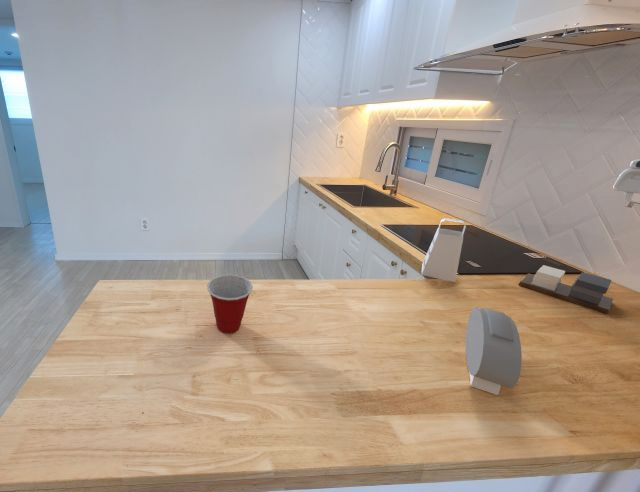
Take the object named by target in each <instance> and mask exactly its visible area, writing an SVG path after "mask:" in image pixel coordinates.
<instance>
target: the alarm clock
mask: <svg viewBox="0 0 640 492" xmlns="http://www.w3.org/2000/svg"><path fill="white" fill-rule="evenodd" d="M464 344H465V345H464V346H465V361H466V367H467V370H468V373H469V382H470V387H472V388H474V389H475V388H476V389H478V390H481V391H483V392H487V393H490V394H493V395H495V396H499V394H500V391H501V388H502V386H503V387H506V388H508V389H511V388H513V387H516V385H517V383H518V381H519V379H520V376H521V371H522V355H523V354H522V344H521V339H520V334H519V330H518V327H517V324H516V323H515V320H514V319H513V318H512V317H511V316H510V315H508V314H506V313H504V312H503V311H499V310H494V309H490V308H487V307H486V308H481V307H477V306H475V307H473V308H472V310H471V311H470V313H469V315H468V319H467V324H466V331H465V342H464Z"/></svg>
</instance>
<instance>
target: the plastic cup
mask: <svg viewBox="0 0 640 492" xmlns="http://www.w3.org/2000/svg"><path fill="white" fill-rule="evenodd" d="M206 288H207V292H208V293H209V294H210V295H209V296H210V298H211V302H212V308H213V313H214V318H215V323H216V328H217V330H218V331H219V332H221V333H224V334H234V333H236V332H237V331H239V330H240V327H241V324H242V321H243V318H244V315H245V311H246V306H247V303H248V299H249V296H250V295H251V293H252V291H253V289H254V287H253V284H252V281H251V280H249V279H248V278H247V277H244V276H241V275H236V274H222V275H218V276H215V277H214V278H212V279H210V280H209V281H208V283H207V284H206Z"/></svg>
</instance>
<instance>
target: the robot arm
mask: <svg viewBox="0 0 640 492" xmlns="http://www.w3.org/2000/svg"><path fill="white" fill-rule="evenodd" d="M612 188H613V190H614V191H618V192H623V193H626V194H625V200H626V204H625V206H624V207H625V208H631V209H632V208H633V206H634V204H635V201H632V200H631V199H632V198H631V197H632V196H633V195H634V194H638V195H639V194H640V158H638V159H633V160H631V161H630V163H629V167H628V168H626V169H624V170H623V171H622V172H621V173H620V174H619V176H618V177H617V179H616V180H615V182H614V184H613V186H612Z"/></svg>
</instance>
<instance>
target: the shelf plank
mask: <svg viewBox="0 0 640 492" xmlns="http://www.w3.org/2000/svg"><path fill="white" fill-rule="evenodd" d="M535 275H536V274H532V273H527V274H526V275H525V276H524V277H523V278H522V279H521V280H520V281H519V282H518V286H519V287H523V288H525V289H528V290H531V291H535V292H538V293H541V294H544V295H547V296H550V297H553V298H555V299H560V300H562V301H565V302H569V303H572V304H575V305H578V306H581V307H584V308H587V309H591V310H593V311H597V312H598V313H599V312H600V313H603V314H608V313H609V312H610V309H611V306H612V303H613V300H614V298H612V297H609V296H607V295H603V297H602V299H601V301H600V303H599V305H596V304H593V303H590V302H587V301H584V300H581V299H577V298H574V297H571V296H568V295H569V293H570V291H571V290H570V289H571V287H572V285H570V284H565V283H563V282H560V284H559V285H558V287H557V288H556V289H555V291H553V290H549V289H546V288H543V287H540V286H537V285H534V284H532V282H533V278H534V276H535Z"/></svg>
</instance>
